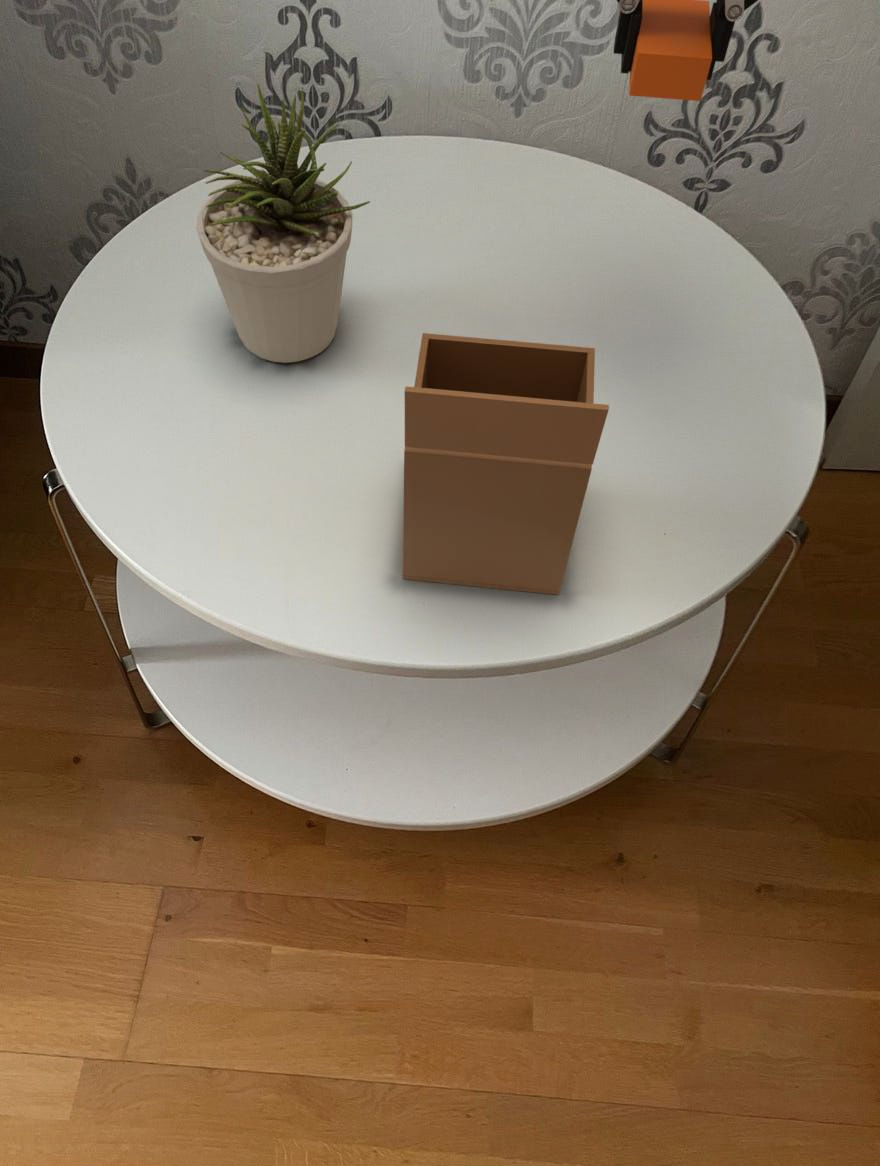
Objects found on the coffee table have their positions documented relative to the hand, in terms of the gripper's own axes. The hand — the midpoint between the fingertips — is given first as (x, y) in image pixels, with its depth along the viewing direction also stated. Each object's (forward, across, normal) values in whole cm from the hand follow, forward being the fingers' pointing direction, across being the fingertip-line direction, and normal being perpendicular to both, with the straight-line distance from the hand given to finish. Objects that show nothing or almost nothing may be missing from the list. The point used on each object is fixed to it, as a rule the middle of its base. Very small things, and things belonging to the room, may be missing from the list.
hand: (665, 63), depth 70 cm
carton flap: (+5, +9, +31) cm, 33 cm away
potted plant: (+23, +28, +6) cm, 37 cm away
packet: (0, 0, 0) cm, 0 cm away
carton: (+23, +9, +26) cm, 36 cm away
